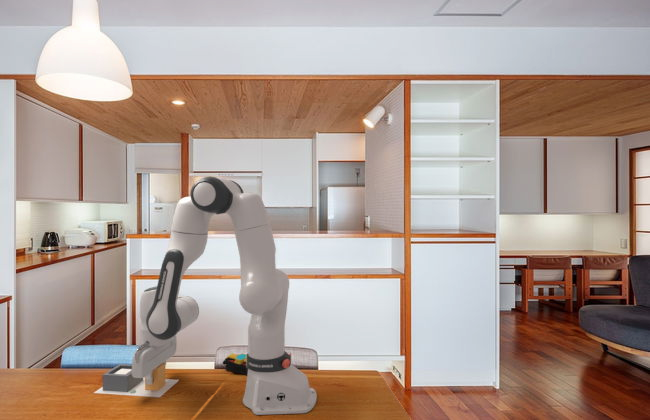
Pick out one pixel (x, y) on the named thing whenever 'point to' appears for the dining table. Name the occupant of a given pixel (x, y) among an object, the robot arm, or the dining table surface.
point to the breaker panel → (129, 384)
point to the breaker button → (123, 371)
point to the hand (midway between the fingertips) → (155, 379)
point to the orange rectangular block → (157, 378)
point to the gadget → (236, 363)
